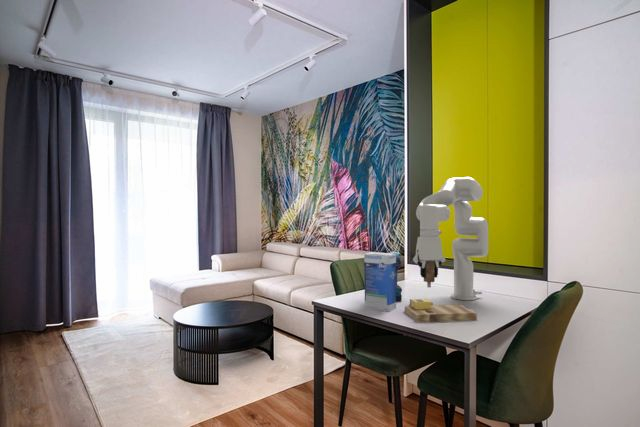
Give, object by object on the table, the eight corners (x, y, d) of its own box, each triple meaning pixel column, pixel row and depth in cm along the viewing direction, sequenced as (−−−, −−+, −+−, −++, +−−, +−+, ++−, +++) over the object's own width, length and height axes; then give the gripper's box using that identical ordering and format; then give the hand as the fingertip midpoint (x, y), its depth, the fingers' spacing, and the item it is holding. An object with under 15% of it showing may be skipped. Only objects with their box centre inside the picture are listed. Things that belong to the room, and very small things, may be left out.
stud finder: (426, 305, 161) (426, 298, 161) (431, 308, 156) (431, 301, 156) (411, 306, 160) (411, 299, 160) (415, 309, 155) (415, 301, 155)
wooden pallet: (459, 310, 164) (459, 304, 164) (477, 320, 150) (477, 313, 150) (404, 312, 161) (404, 305, 161) (417, 322, 147) (417, 315, 147)
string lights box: (396, 309, 166) (396, 253, 166) (389, 312, 160) (389, 255, 160) (371, 304, 175) (371, 251, 175) (363, 308, 169) (363, 253, 169)
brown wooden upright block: (431, 286, 154) (431, 261, 154) (436, 288, 150) (436, 262, 150) (421, 286, 153) (422, 261, 153) (426, 288, 149) (426, 263, 149)
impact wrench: (398, 295, 196) (399, 249, 196) (404, 305, 173) (404, 253, 173) (384, 294, 197) (384, 248, 196) (388, 305, 174) (388, 253, 174)
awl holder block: (425, 305, 174) (425, 298, 174) (432, 309, 166) (432, 302, 166) (409, 305, 173) (409, 299, 173) (416, 309, 166) (416, 303, 166)
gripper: (444, 233, 156) (443, 275, 156) (406, 233, 154) (406, 275, 154) (452, 234, 149) (452, 278, 149) (413, 234, 147) (413, 279, 147)
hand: (429, 276), depth 152 cm, fingers closed on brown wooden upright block, 4 cm apart
